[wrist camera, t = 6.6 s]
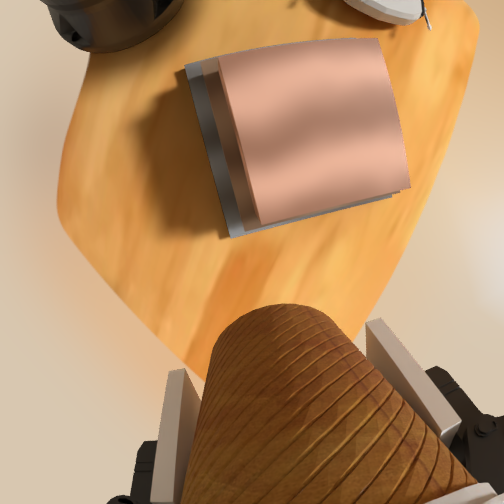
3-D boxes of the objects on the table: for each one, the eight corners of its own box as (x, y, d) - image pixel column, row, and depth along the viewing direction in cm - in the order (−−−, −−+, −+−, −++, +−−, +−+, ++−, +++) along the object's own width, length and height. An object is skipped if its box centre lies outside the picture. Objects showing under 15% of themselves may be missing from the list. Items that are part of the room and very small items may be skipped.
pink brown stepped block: (185, 68, 27) (171, 35, 17) (352, 41, 27) (394, 10, 18) (230, 235, 32) (234, 269, 23) (386, 195, 33) (438, 213, 23)
